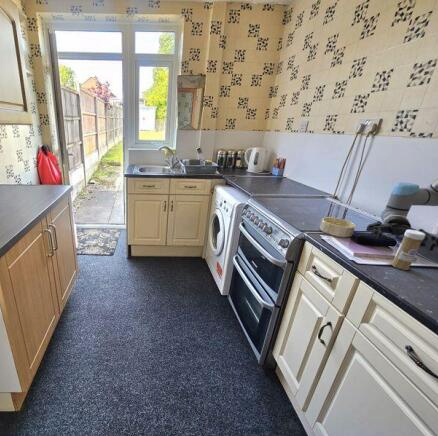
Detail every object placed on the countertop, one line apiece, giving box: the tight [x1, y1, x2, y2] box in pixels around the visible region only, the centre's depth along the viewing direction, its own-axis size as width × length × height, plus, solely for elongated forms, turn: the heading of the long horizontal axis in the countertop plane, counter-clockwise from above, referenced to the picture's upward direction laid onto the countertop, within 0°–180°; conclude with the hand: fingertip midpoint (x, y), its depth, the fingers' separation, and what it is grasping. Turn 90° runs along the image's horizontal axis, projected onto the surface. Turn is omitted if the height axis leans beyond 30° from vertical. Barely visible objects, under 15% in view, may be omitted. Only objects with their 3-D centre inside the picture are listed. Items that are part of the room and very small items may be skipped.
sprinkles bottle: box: [391, 229, 425, 271], centre depth 83 cm, size 5×5×13 cm
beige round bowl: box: [319, 216, 357, 238], centre depth 111 cm, size 12×12×5 cm
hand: (404, 241), depth 87 cm, fingers open, 13 cm apart
